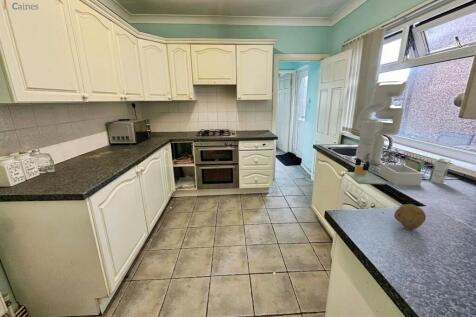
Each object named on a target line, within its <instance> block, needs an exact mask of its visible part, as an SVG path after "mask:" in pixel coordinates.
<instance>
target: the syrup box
mask: <svg viewBox="0 0 476 317" xmlns="http://www.w3.org/2000/svg"><path fill="white" fill-rule="evenodd" d="M451 161H452V160H451V159H446V158H441V157H438V158H436V159H434V162H433V166H432V168H431V172H430V175H429V178H428V182H430V183H431V182H432V183H436V184H440V185H442V184H444V182H445V180H446V177H447V175H448V174H447V173H448V171H449V168H450V164H451Z"/></svg>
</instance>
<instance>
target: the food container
mask: <svg viewBox="0 0 476 317" xmlns="http://www.w3.org/2000/svg"><path fill="white" fill-rule="evenodd" d="M404 165H406V166H408V167H410V168H412V169H414V170H416V171H419V172H421V170H422V169H423V167H424V165H426V164H425V160H424V159H422V158H418V157H412V156H406V158H405V164H404ZM421 173H422V172H421Z"/></svg>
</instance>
